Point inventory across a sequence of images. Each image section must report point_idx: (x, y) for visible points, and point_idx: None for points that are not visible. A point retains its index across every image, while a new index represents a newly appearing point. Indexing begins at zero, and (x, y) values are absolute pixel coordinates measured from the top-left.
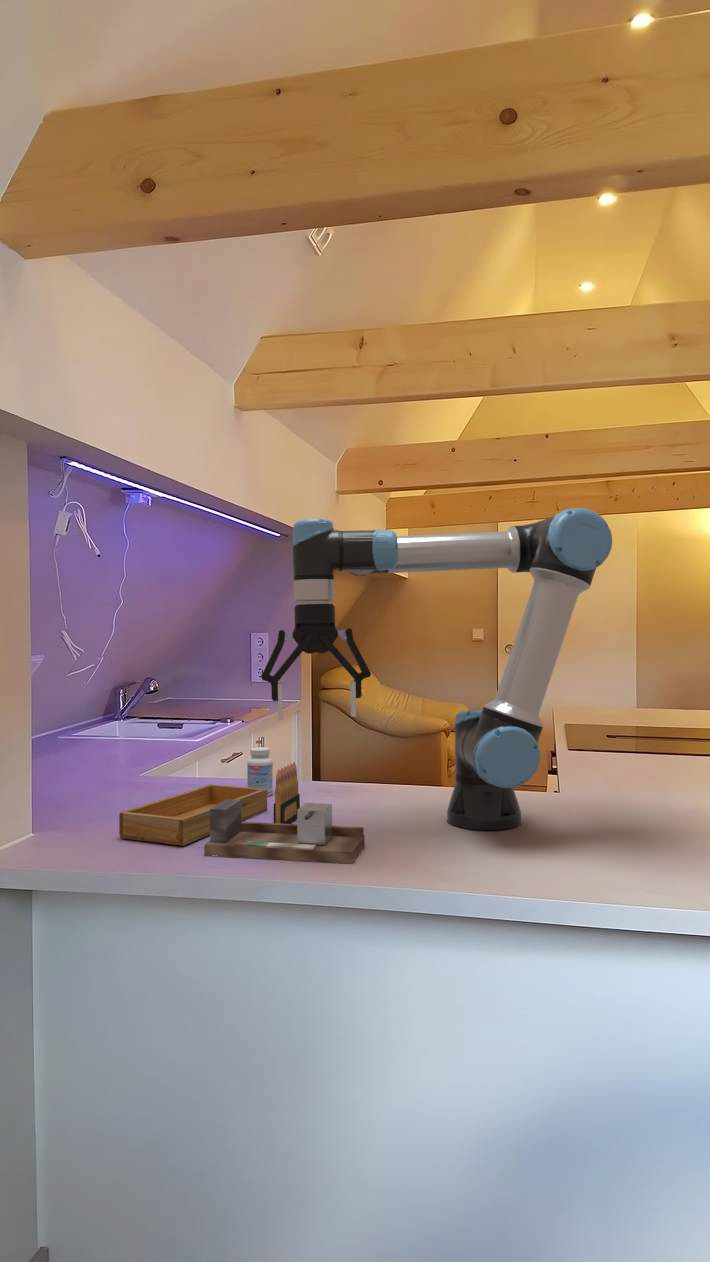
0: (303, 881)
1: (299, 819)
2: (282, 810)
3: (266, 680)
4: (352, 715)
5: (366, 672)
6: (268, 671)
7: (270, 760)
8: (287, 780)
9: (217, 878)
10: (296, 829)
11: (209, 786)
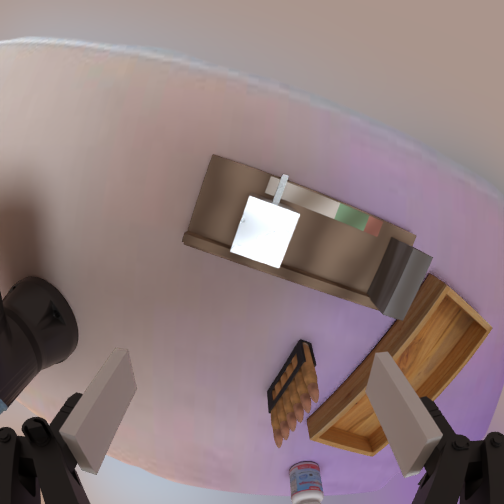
0: (289, 95)
1: (293, 210)
2: (301, 356)
3: (480, 442)
4: (125, 352)
5: (4, 443)
6: (496, 464)
7: (295, 499)
8: (294, 403)
9: (394, 133)
10: (289, 268)
11: (375, 450)
